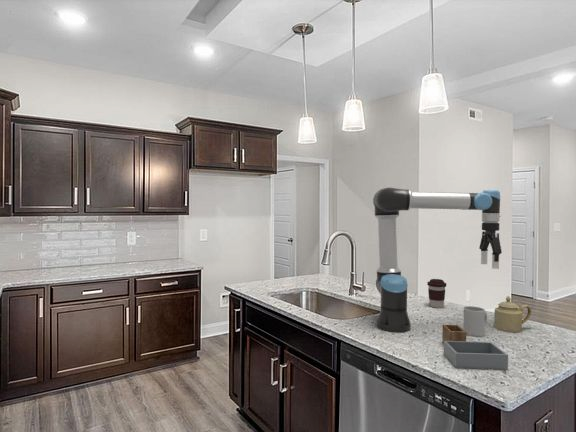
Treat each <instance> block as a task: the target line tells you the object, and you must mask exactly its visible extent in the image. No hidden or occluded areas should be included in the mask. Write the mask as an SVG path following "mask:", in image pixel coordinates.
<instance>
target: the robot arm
mask: <svg viewBox="0 0 576 432" xmlns="http://www.w3.org/2000/svg"><path fill="white" fill-rule="evenodd" d="M372 203H373V206H374V216H375V218H376V219H377V224H378V250H379V252H378V255H379V259H378V260H379V267H378V268H377V269H376V281H375V286H376V289H377V291H378V293H379V294H380V310H379V314H378V316H377V319H376V327H377V328H379V329H380V330H382V331H386V332H393V333H404V332H408V331H410V330H411V329H412V327H411V325H412V324H411V321H410V317H409V314H408V305H407V304H408V286H409V285H408V280H407V278H406V277H404V276H403V275H402V272H401V271H402V269H400V268H399V266H398V244H397V241H398V240H397V218H398V217H399V216H400V211H410V209H425V210H427V209H428V210H429V209H430V210H433V209H434V210H441V209H442V210H463V211H464V210H465V211H467V210H468V211H472V210H473V211H481V222H482V223H481V231H482V232H481V239H480V242H479V243H480V244H479V250H480V251H481V252H480V264H481V265H488V251H489V250H488V249H489V246H491V250H492V253H491V258H492V259H491V269H494V270H496V269H497V270H499V269H500V255H501V254H502V252H503V251H502V246H501V241H500V233H499V232H497V231H500V223H499V222H500V218H501V215H500V213H501V212H500V211H501V210H500V209H501V193H500V191H499V190H497V189H487V190H486V189H485V190H482V192H440V191H438V192H437V191H435V192H432V191H411V190H410V189H403V188H402V189H401V188H396V187H385V188H384V187H383V188H380V189H379V190H377V191H376V192H375V194H374V196H373V198H372Z"/></svg>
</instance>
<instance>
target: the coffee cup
mask: <svg viewBox="0 0 576 432" xmlns="http://www.w3.org/2000/svg"><path fill="white" fill-rule="evenodd" d="M426 283H427V286H428V290H427V291H428V299H429V300H428V301H429V306H430V308H433V309H443V307H444V304H445V303H444V302H445V300H446V299H445V298H446V297H445V296H446V287H447V283H446V282H445V281H444V280H443V279H441V278H440V279H439V278H431V279H430V280H429V281H427V282H426Z"/></svg>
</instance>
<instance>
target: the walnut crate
mask: <svg viewBox="0 0 576 432" xmlns="http://www.w3.org/2000/svg"><path fill="white" fill-rule="evenodd" d="M441 338H442V341H441V342H442V344H443V345H444V341H467V334H466V331H464V330H463V327H461V326H459V325H458V324H442V337H441Z"/></svg>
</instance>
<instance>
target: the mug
mask: <svg viewBox="0 0 576 432" xmlns="http://www.w3.org/2000/svg"><path fill="white" fill-rule="evenodd" d="M462 320H463V324H462V325H463V327H462V329H463V330H464V331H466V336H470V337H484V336H485V330H486V329H485V327H486V325H487V322H488V315H487V312H486V311H485V309H484V308H482V307H479V306H473V305H472V306H469V305H468V306H464V307H463V319H462Z"/></svg>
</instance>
